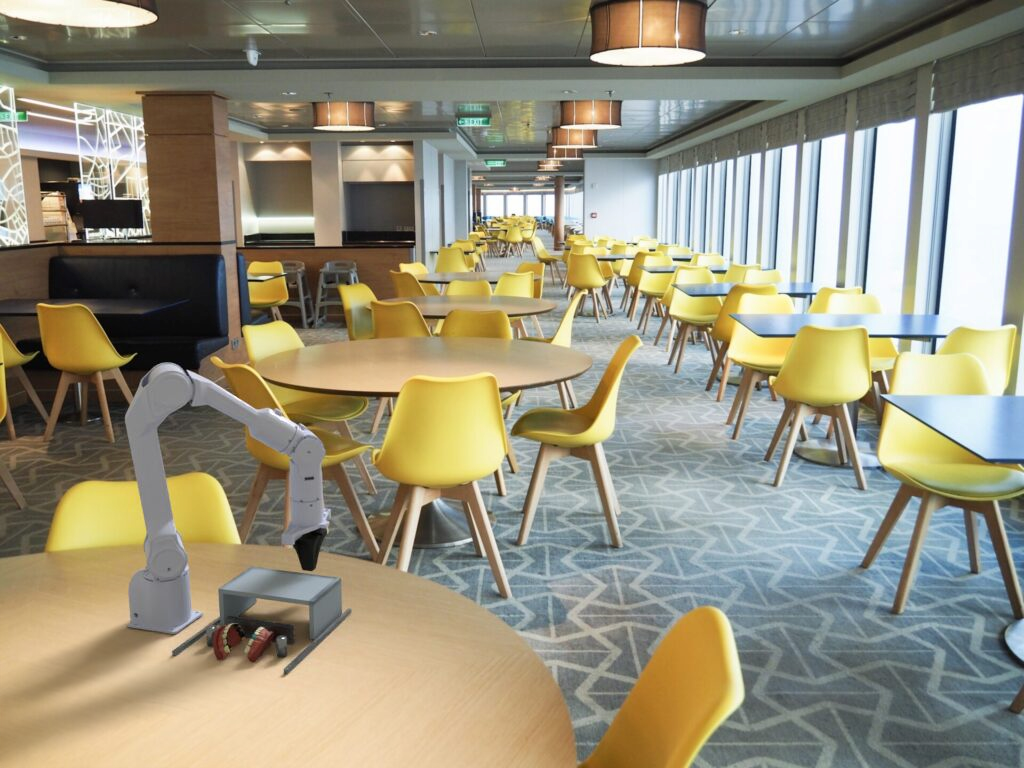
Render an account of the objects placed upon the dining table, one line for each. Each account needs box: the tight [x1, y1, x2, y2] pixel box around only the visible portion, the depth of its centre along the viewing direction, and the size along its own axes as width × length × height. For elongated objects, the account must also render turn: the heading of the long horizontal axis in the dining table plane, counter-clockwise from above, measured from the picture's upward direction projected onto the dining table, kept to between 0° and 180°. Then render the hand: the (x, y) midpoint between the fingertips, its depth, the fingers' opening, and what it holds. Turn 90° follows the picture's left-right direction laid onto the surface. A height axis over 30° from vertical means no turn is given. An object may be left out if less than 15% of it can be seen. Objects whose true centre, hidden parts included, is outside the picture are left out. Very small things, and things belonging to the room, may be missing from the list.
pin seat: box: [171, 607, 352, 675], centre depth 145 cm, size 20×22×3 cm
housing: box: [218, 566, 343, 640], centre depth 149 cm, size 18×10×7 cm, turn 75°
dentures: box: [212, 623, 274, 664], centre depth 138 cm, size 6×5×9 cm
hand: (308, 569), depth 158 cm, fingers closed
